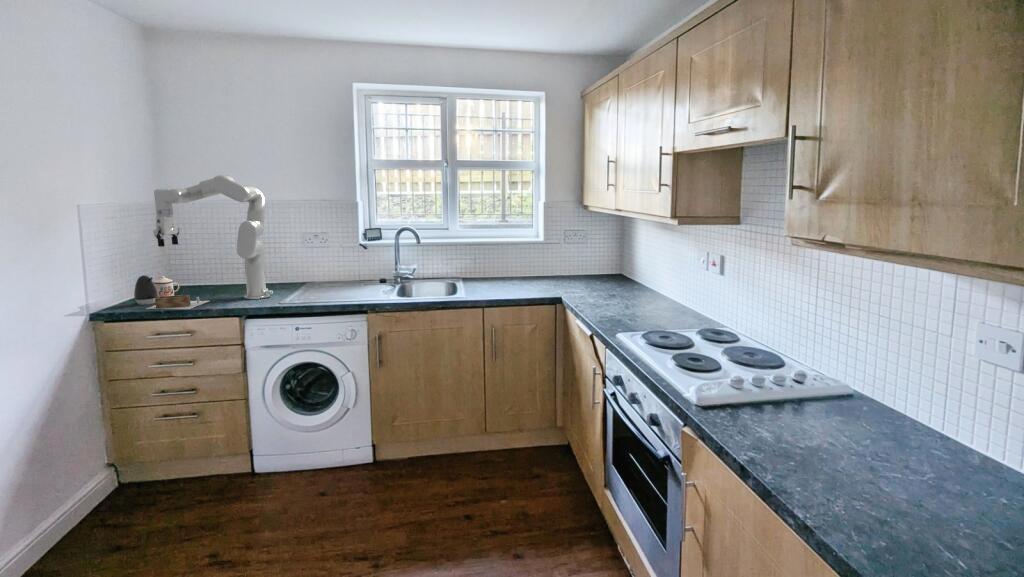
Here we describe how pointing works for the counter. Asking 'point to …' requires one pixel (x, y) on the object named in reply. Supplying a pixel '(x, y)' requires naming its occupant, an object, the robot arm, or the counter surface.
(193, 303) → the wall board
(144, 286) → the dark grey egg-shaped piece
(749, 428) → the counter surface
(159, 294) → the teacup with lid
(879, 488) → the counter surface
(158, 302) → the frame
